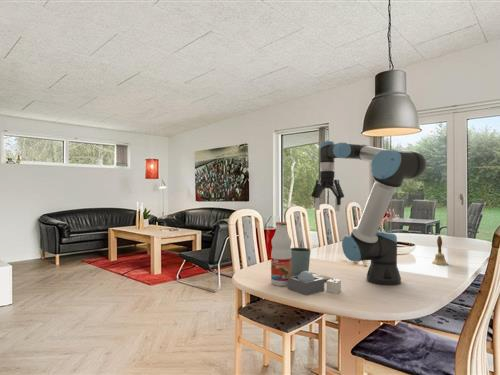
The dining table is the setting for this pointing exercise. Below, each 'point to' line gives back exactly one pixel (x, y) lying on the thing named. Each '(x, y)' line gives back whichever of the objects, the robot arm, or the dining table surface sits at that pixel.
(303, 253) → the teal and white cup
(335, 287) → the die
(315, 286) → the collar
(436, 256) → the hand bell
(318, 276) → the track board
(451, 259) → the dining table surface
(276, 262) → the fruit juice
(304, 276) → the blue-grey ball
